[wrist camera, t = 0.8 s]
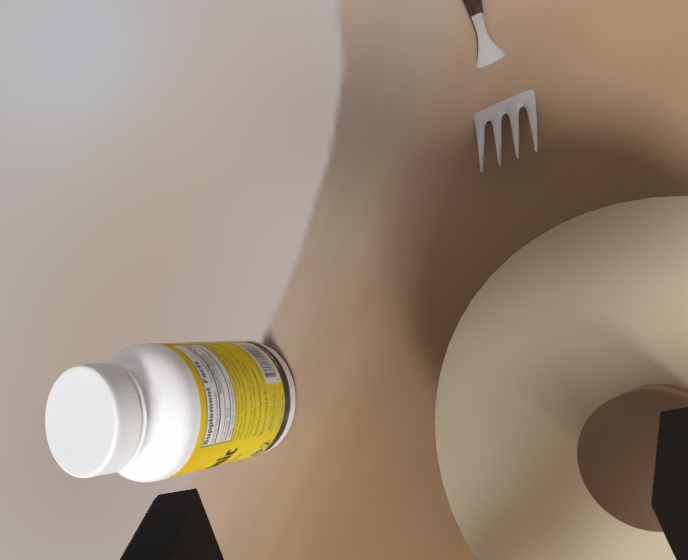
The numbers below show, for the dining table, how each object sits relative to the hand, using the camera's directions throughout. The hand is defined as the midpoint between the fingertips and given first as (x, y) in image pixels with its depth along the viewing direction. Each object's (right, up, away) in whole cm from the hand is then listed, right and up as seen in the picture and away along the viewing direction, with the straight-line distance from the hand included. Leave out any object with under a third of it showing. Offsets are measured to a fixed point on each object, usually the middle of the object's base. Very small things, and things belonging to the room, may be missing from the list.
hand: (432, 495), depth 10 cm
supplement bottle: (-6, -2, +22) cm, 22 cm away
